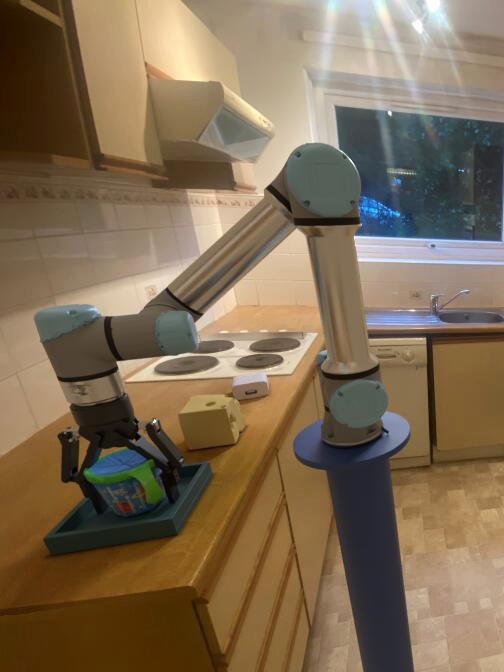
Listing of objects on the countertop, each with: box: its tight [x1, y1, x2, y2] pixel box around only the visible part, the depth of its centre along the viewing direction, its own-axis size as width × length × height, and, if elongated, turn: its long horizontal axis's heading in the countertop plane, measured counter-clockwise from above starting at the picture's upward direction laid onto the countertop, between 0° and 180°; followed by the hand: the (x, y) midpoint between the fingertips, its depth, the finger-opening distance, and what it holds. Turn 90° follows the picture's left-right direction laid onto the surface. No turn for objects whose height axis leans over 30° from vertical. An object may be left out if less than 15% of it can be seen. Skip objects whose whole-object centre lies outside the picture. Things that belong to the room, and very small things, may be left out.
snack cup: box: [84, 447, 165, 517], centre depth 80 cm, size 16×10×10 cm
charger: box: [231, 371, 270, 401], centre depth 135 cm, size 5×9×15 cm
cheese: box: [177, 393, 247, 451], centre depth 106 cm, size 10×11×10 cm
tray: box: [42, 460, 214, 556], centre depth 82 cm, size 18×19×4 cm
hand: (140, 504), depth 82 cm, fingers closed on snack cup, 11 cm apart
